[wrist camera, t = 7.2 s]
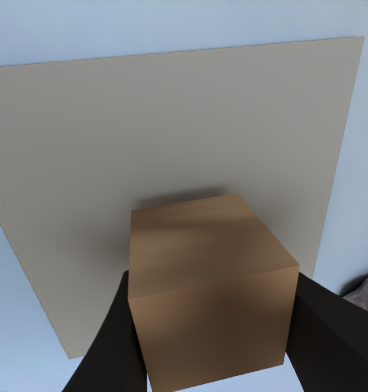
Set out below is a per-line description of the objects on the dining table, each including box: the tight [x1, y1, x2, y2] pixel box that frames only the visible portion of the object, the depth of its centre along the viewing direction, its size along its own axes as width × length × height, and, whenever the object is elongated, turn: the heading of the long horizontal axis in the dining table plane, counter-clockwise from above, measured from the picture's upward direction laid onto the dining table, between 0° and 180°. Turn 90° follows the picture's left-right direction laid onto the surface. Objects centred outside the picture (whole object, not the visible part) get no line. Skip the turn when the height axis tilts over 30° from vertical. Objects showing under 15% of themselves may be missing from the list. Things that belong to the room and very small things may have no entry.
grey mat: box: [0, 36, 365, 359], centre depth 14 cm, size 18×18×1 cm
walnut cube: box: [128, 193, 300, 392], centre depth 10 cm, size 5×5×5 cm
